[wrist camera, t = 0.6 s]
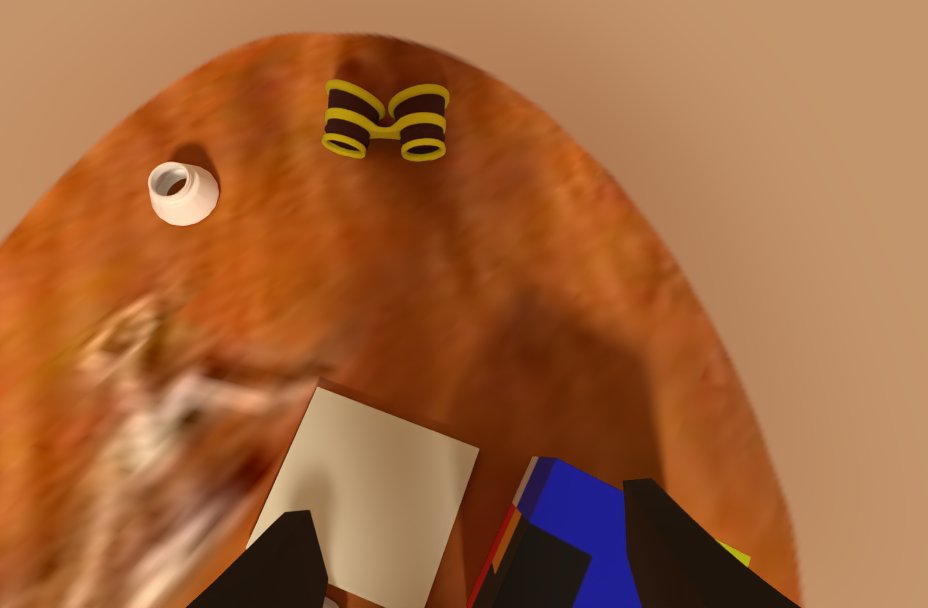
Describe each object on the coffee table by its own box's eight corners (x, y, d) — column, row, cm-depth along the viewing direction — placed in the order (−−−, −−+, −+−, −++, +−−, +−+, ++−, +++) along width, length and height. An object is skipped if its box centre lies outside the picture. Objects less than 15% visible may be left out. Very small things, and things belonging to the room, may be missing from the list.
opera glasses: (330, 163, 43) (311, 138, 38) (335, 101, 43) (317, 69, 38) (447, 169, 42) (443, 145, 37) (451, 107, 43) (448, 75, 38)
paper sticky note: (420, 618, 33) (419, 621, 32) (249, 546, 34) (245, 548, 33) (479, 448, 35) (479, 448, 35) (319, 387, 37) (317, 386, 36)
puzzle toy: (532, 456, 35) (556, 457, 26) (670, 527, 34) (750, 557, 24) (466, 602, 33) (466, 664, 23) (613, 685, 32) (676, 787, 22)
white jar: (233, 188, 41) (184, 160, 42) (216, 169, 38) (164, 139, 39) (193, 238, 40) (144, 208, 41) (173, 222, 37) (120, 190, 38)
